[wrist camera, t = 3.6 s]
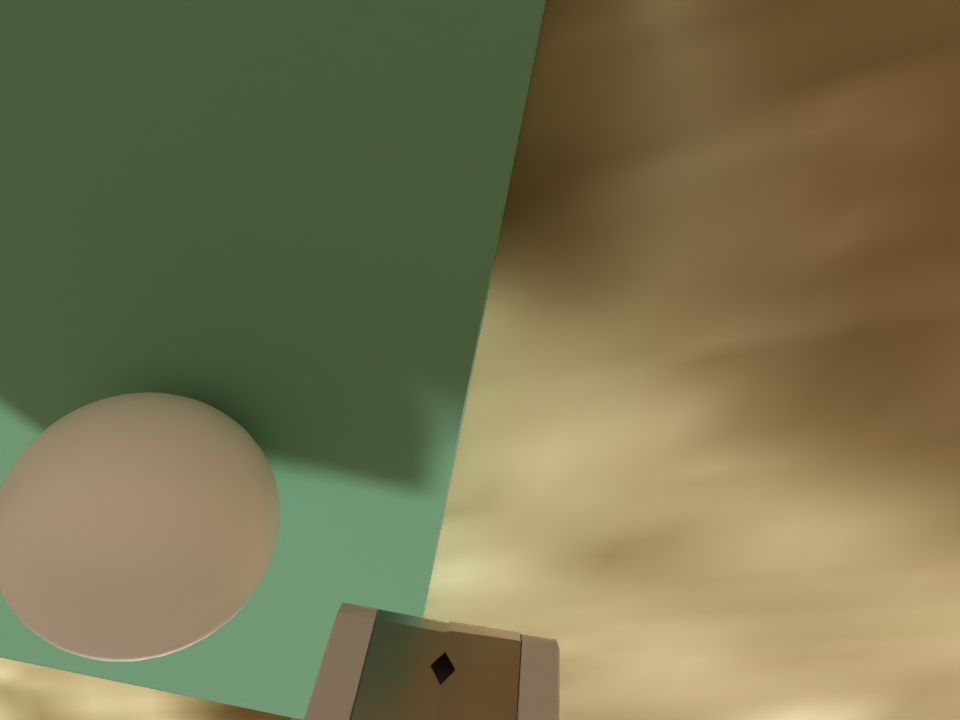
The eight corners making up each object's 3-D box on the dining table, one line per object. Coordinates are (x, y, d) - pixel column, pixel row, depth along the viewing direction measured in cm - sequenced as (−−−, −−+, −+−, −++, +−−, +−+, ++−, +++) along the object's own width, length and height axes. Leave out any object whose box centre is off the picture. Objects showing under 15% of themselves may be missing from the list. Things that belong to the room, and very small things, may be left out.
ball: (316, 370, 10) (211, 567, 7) (309, 535, 12) (223, 741, 9) (74, 321, 10) (-127, 497, 7) (107, 493, 12) (-41, 686, 9)
